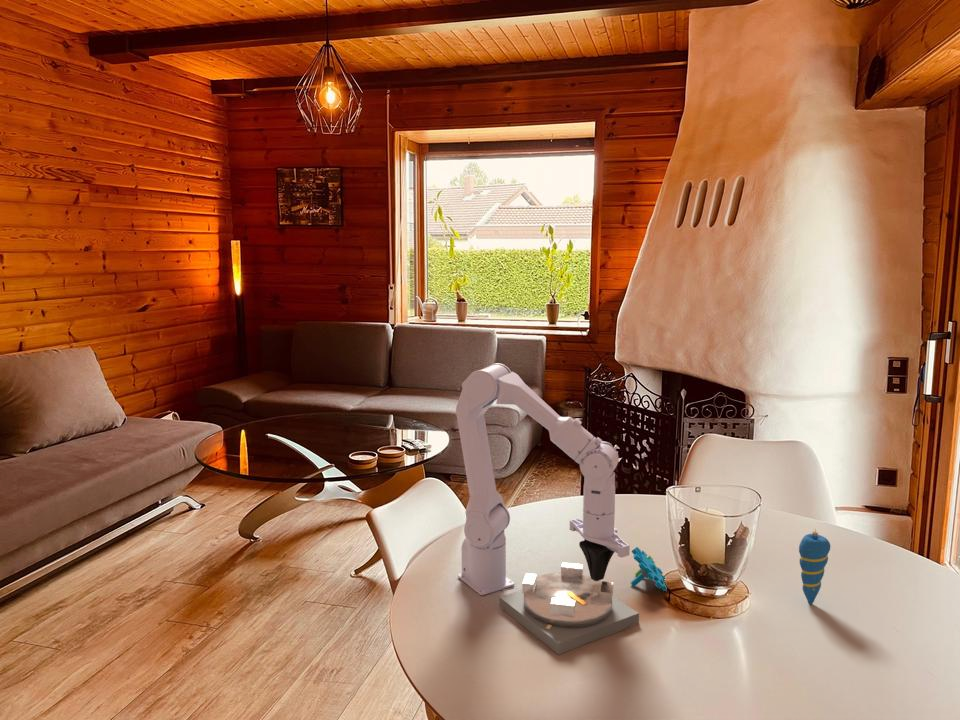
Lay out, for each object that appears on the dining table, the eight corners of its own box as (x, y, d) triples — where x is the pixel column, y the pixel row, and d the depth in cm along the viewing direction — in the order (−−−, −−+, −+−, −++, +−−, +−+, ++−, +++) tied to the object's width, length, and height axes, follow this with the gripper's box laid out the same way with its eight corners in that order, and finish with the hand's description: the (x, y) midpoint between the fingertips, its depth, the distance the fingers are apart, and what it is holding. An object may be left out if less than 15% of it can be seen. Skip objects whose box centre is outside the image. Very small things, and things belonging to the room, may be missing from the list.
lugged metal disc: (506, 596, 128) (506, 576, 127) (574, 574, 136) (574, 555, 135) (559, 636, 114) (559, 614, 113) (631, 610, 122) (631, 589, 122)
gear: (673, 594, 129) (635, 553, 131) (649, 613, 130) (612, 572, 132) (672, 575, 140) (638, 537, 141) (650, 593, 141) (616, 555, 143)
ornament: (825, 600, 130) (831, 525, 127) (826, 613, 125) (832, 536, 123) (795, 595, 132) (800, 521, 129) (795, 607, 127) (800, 531, 125)
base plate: (499, 606, 128) (499, 595, 128) (574, 582, 137) (575, 572, 137) (558, 654, 113) (558, 642, 113) (638, 623, 122) (639, 612, 122)
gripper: (643, 517, 122) (640, 589, 124) (589, 493, 134) (588, 558, 136) (613, 526, 118) (611, 599, 120) (561, 500, 130) (560, 567, 133)
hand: (597, 578), depth 128 cm, fingers closed
